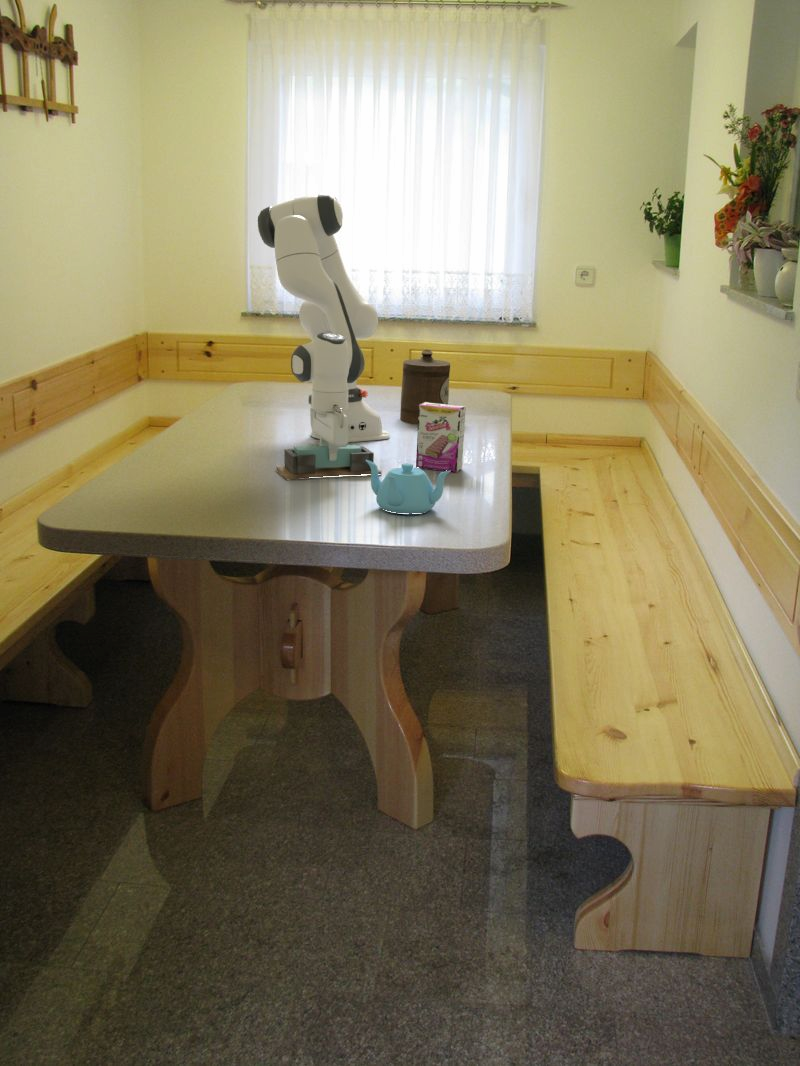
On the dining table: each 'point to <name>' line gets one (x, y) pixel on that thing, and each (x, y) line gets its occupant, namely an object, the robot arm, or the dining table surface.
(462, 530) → the dining table surface
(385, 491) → the teapot
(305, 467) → the sharpening stone holder
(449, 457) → the candy bar box
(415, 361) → the wooden container
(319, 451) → the slat
